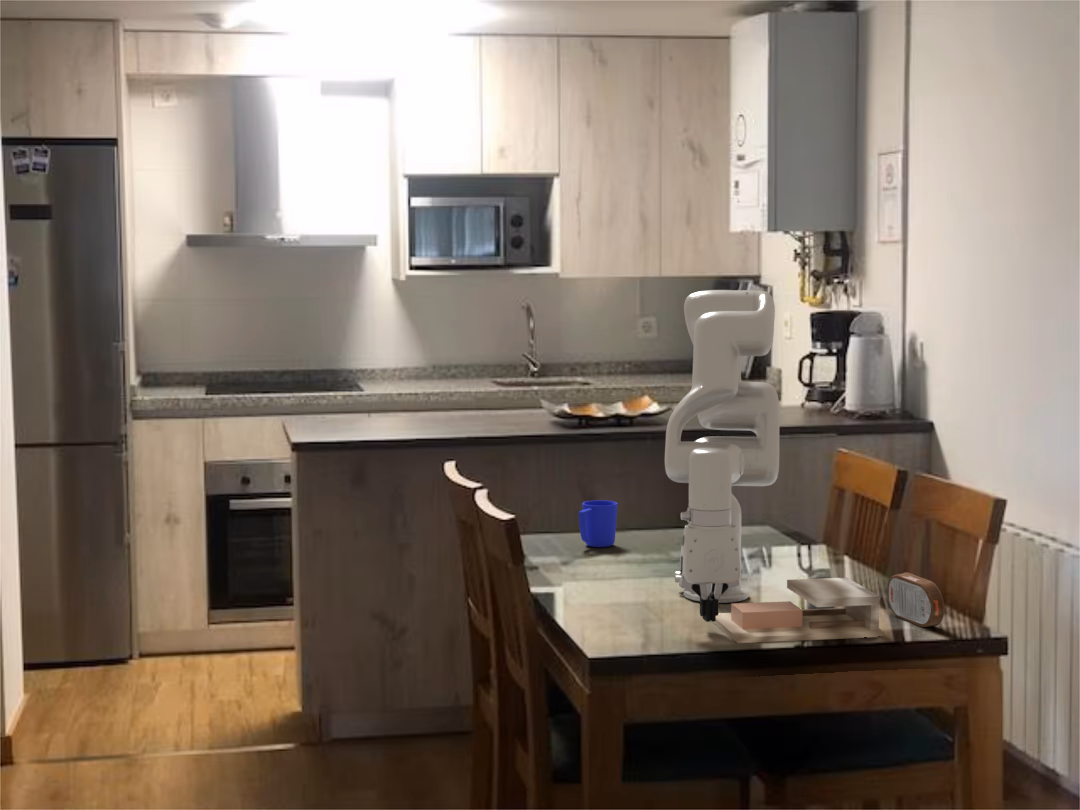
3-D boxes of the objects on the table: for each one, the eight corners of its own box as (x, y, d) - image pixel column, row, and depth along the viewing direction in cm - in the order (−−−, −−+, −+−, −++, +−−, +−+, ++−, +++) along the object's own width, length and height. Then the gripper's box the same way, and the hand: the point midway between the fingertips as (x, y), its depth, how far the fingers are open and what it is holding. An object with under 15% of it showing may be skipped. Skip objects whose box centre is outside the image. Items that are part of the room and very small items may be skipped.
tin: (945, 630, 269) (946, 584, 268) (930, 632, 268) (931, 585, 267) (898, 612, 283) (899, 568, 282) (883, 613, 282) (884, 569, 281)
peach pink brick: (789, 617, 275) (789, 601, 274) (802, 626, 268) (802, 610, 267) (731, 619, 273) (731, 603, 273) (742, 629, 266) (742, 612, 266)
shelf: (737, 643, 260) (738, 603, 260) (709, 618, 278) (709, 581, 277) (883, 636, 265) (884, 597, 264) (846, 613, 282) (847, 576, 282)
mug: (566, 549, 346) (565, 506, 345) (594, 541, 355) (594, 499, 355) (596, 553, 341) (596, 509, 340) (624, 544, 351) (624, 502, 350)
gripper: (673, 522, 262) (673, 626, 264) (756, 520, 264) (755, 623, 266) (663, 515, 269) (662, 616, 271) (744, 513, 272) (743, 613, 273)
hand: (708, 619), depth 269 cm, fingers closed
